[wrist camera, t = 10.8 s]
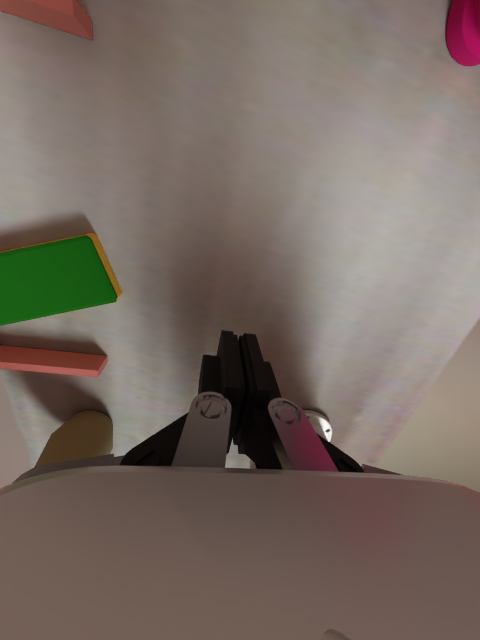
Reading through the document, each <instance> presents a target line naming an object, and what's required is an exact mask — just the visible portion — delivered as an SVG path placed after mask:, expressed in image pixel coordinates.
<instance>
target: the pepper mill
mask: <svg viewBox="0 0 480 640" xmlns="http://www.w3.org/2000/svg"><path fill="white" fill-rule="evenodd" d="M446 37H447V47H448V49H449V52H450V54H451V56H452V58H453V59H454V60H455V61H456V62H457V63H459V64H461V65H464V66H475V65H478V64H480V0H454V1H453V3H452V6H451V9H450V13H449V17H448V22H447V30H446Z"/></svg>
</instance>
